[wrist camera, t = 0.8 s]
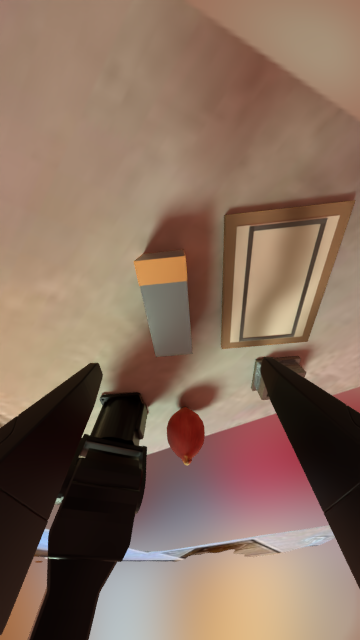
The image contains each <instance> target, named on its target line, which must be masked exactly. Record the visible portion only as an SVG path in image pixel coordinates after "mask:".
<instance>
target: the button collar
mask: <svg viewBox="0 0 360 640" xmlns="http://www.w3.org/2000/svg"><path fill="white" fill-rule="evenodd" d="M274 359H275V360H277V361H279V362H280V363H282V364H283V365H285V366H286V367H288V368H290V369H291V370H293V371H294V372H296V373H297V374H299V375H301V376H302V377H305V374H306V372H305V371H304V369H303V368H302V367H301V366H300V365H299V363H300V360H301V358H300V357H299V356H295V357H283V358H274ZM261 363H262V359H259V360H256V362H255V368H254V374H253V380H252V386H251V389H252V391H255V390H257V391H258V393H259V395H260V397H261V399H262V400H268V399H270V398H269V395H268V393H267V390H266V387H265V384H264V381H263V378H262V376H261V373H260V366H261Z"/></svg>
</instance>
